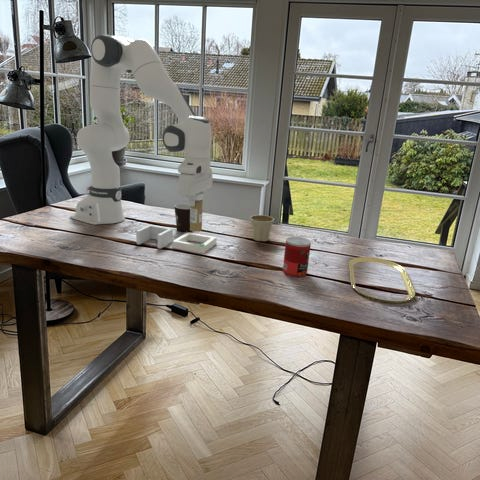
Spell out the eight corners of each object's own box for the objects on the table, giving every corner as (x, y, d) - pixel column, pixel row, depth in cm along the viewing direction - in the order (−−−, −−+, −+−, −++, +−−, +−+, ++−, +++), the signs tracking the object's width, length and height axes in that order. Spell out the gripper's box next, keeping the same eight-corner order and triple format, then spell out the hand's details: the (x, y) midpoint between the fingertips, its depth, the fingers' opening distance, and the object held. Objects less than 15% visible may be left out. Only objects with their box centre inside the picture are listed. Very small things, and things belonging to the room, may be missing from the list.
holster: (136, 243, 153) (136, 230, 151) (149, 237, 161) (149, 224, 159) (160, 248, 150) (160, 235, 148) (172, 241, 158) (172, 228, 156)
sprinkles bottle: (204, 231, 152) (205, 194, 148) (192, 232, 150) (194, 195, 146) (198, 227, 156) (199, 192, 152) (187, 229, 154) (188, 192, 149)
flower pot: (244, 240, 165) (246, 218, 162) (253, 233, 173) (255, 213, 170) (267, 244, 161) (269, 223, 159) (275, 238, 170) (277, 217, 167)
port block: (172, 247, 151) (172, 239, 150) (187, 238, 162) (187, 230, 161) (203, 253, 148) (203, 245, 147) (216, 243, 159) (216, 235, 158)
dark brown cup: (193, 234, 167) (194, 209, 164) (172, 232, 167) (172, 208, 164) (197, 225, 178) (198, 202, 175) (177, 224, 178) (177, 201, 175)
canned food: (301, 279, 132) (305, 246, 128) (278, 273, 136) (281, 240, 132) (310, 272, 138) (314, 240, 135) (288, 266, 142) (292, 235, 139)
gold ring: (400, 265, 151) (401, 261, 151) (419, 309, 119) (420, 304, 118) (347, 258, 154) (348, 254, 154) (351, 299, 122) (352, 294, 121)
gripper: (201, 160, 156) (200, 197, 160) (175, 168, 137) (174, 209, 142) (217, 162, 154) (215, 199, 158) (193, 170, 136) (191, 211, 140)
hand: (196, 204), depth 150 cm, fingers closed on sprinkles bottle, 4 cm apart
